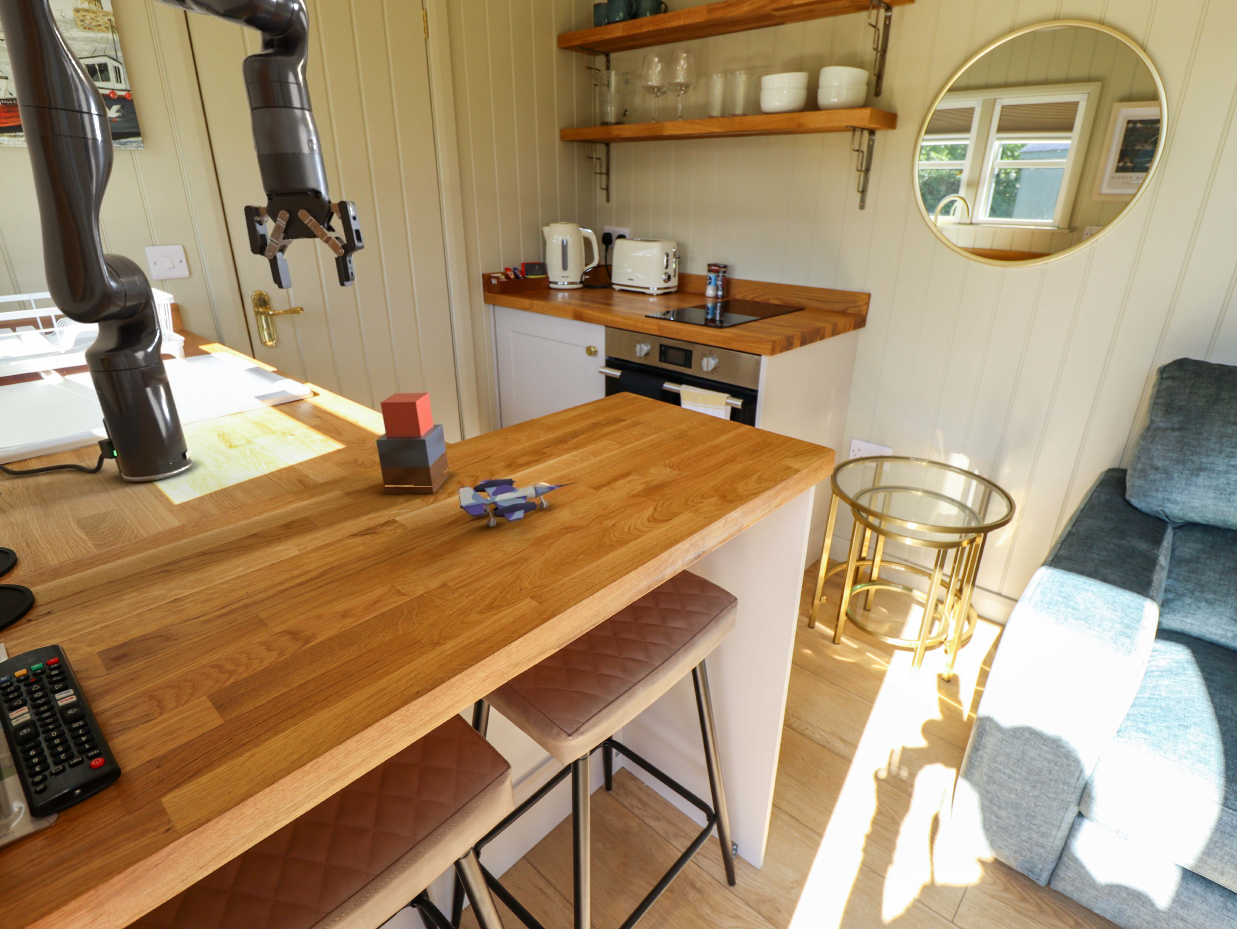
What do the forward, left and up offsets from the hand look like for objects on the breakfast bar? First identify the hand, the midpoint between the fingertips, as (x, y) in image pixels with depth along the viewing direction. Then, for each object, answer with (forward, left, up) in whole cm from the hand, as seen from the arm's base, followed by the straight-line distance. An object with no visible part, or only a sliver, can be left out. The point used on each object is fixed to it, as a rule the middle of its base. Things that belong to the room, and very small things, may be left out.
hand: (315, 287), depth 88 cm
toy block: (+10, +2, -20) cm, 23 cm away
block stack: (+10, +2, -28) cm, 30 cm away
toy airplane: (+29, -4, -28) cm, 41 cm away
